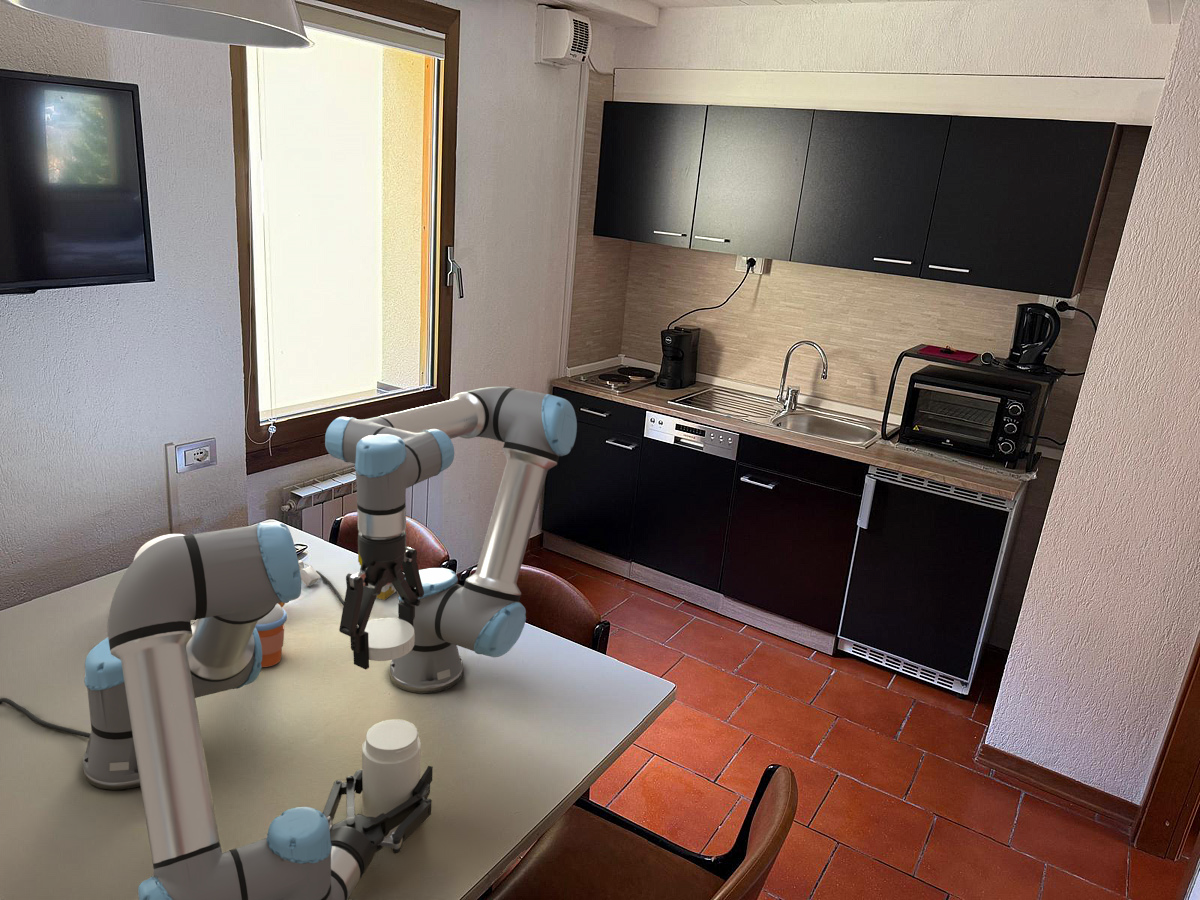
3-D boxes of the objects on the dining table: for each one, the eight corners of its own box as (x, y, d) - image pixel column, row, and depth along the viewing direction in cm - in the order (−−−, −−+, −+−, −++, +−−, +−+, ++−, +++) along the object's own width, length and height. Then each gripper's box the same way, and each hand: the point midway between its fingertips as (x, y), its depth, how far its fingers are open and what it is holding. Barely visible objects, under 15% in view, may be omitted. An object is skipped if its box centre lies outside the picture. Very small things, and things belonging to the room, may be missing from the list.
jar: (413, 838, 137) (414, 753, 132) (356, 835, 137) (355, 750, 132) (423, 799, 146) (425, 719, 141) (370, 796, 146) (370, 715, 141)
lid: (401, 624, 150) (401, 612, 149) (423, 651, 142) (423, 639, 142) (345, 638, 145) (345, 625, 144) (365, 667, 137) (364, 654, 136)
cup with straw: (273, 674, 177) (270, 596, 172) (233, 667, 179) (229, 589, 174) (296, 652, 186) (294, 577, 181) (258, 645, 188) (255, 571, 182)
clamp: (253, 565, 223) (254, 542, 221) (265, 560, 226) (266, 537, 224) (309, 593, 215) (310, 569, 213) (320, 588, 218) (321, 564, 216)
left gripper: (269, 870, 126) (342, 773, 147) (409, 902, 122) (463, 798, 143) (267, 828, 123) (342, 736, 144) (409, 860, 120) (465, 760, 141)
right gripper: (412, 504, 148) (413, 617, 155) (310, 548, 129) (316, 675, 137) (446, 515, 144) (445, 630, 152) (346, 562, 126) (350, 691, 133)
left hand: (402, 767), depth 144 cm, fingers closed on jar, 9 cm apart
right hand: (384, 651), depth 144 cm, fingers closed on lid, 10 cm apart
